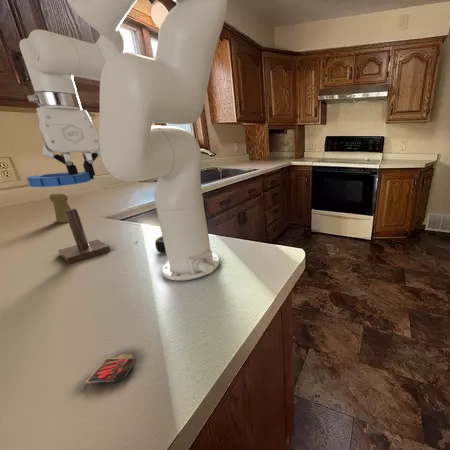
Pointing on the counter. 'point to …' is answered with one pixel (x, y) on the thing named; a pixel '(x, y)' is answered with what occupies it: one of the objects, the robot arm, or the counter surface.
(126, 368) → the matchbox
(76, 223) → the stand
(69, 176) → the tape roll
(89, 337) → the counter surface
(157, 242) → the tape measure
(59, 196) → the cork
